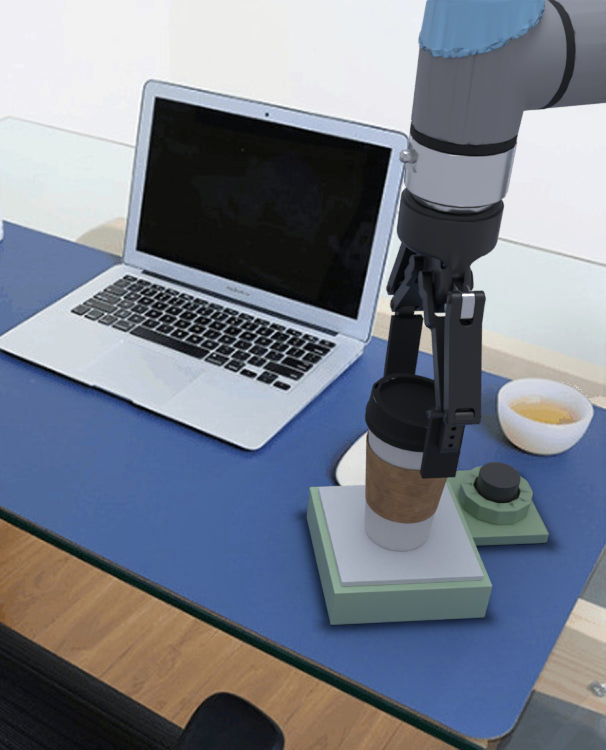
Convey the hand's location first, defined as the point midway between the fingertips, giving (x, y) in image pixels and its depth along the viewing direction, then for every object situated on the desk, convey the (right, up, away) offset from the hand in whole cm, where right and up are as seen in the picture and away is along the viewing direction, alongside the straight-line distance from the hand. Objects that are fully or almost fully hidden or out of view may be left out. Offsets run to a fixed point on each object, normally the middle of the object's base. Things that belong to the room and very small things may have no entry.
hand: (416, 423), depth 85 cm
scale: (-1, -14, +9) cm, 17 cm away
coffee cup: (-1, -10, +7) cm, 12 cm away
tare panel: (+11, -10, +16) cm, 22 cm away
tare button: (+11, -7, +15) cm, 20 cm away
